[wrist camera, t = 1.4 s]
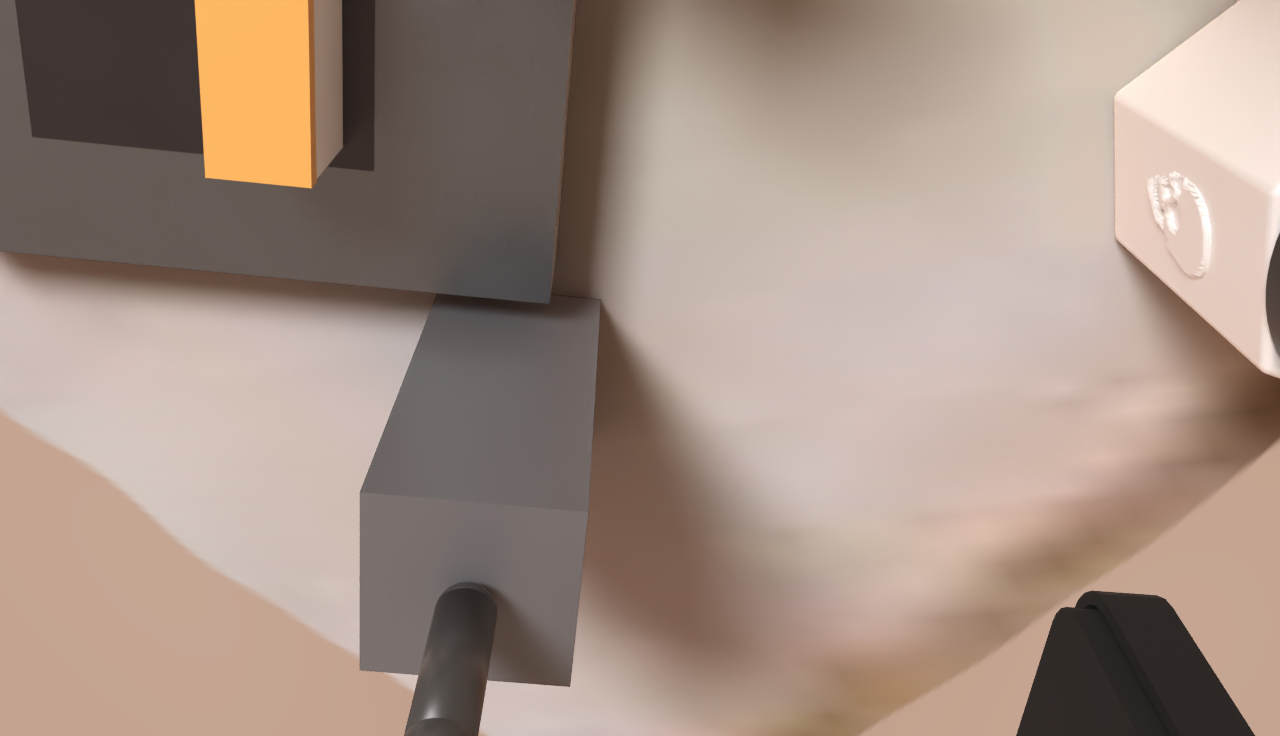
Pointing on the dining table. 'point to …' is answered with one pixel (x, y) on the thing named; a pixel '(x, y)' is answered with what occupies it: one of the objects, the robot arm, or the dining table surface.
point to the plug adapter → (481, 506)
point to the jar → (1209, 175)
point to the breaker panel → (344, 192)
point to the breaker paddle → (270, 88)
